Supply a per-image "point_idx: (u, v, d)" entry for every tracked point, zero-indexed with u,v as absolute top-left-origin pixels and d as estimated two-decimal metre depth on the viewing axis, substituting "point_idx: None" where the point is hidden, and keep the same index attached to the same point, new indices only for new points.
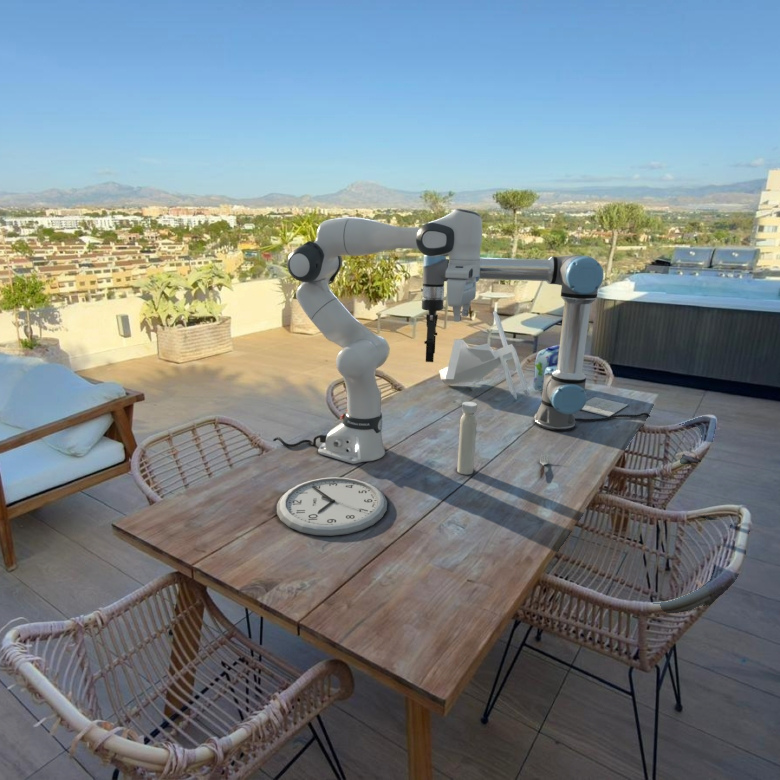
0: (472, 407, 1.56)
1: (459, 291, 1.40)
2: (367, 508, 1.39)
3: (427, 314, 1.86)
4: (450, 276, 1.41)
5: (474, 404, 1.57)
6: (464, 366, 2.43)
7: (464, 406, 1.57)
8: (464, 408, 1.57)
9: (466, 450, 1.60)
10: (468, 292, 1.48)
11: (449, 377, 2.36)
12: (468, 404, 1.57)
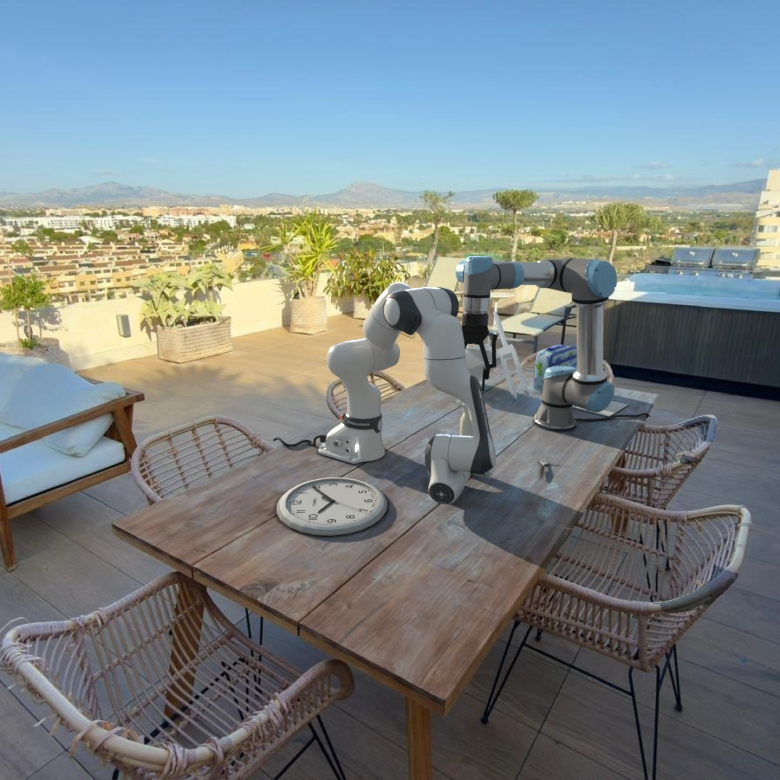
0: None
1: None
2: (367, 508, 1.39)
3: None
4: None
5: None
6: None
7: (464, 406, 1.57)
8: (464, 408, 1.57)
9: None
10: None
11: None
12: None
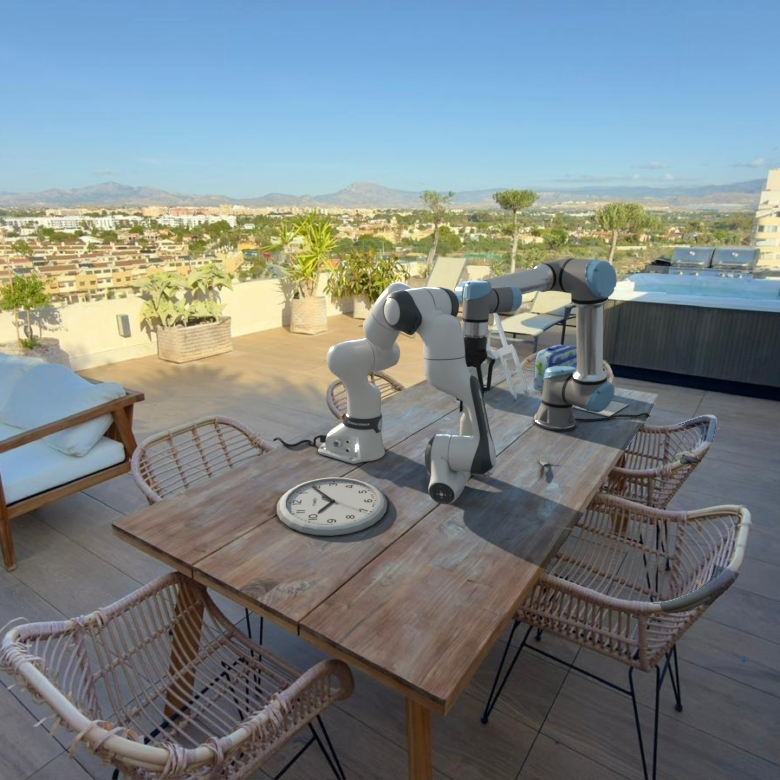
0: None
1: None
2: (367, 508, 1.39)
3: None
4: None
5: None
6: None
7: (464, 406, 1.57)
8: (464, 408, 1.57)
9: None
10: None
11: None
12: None
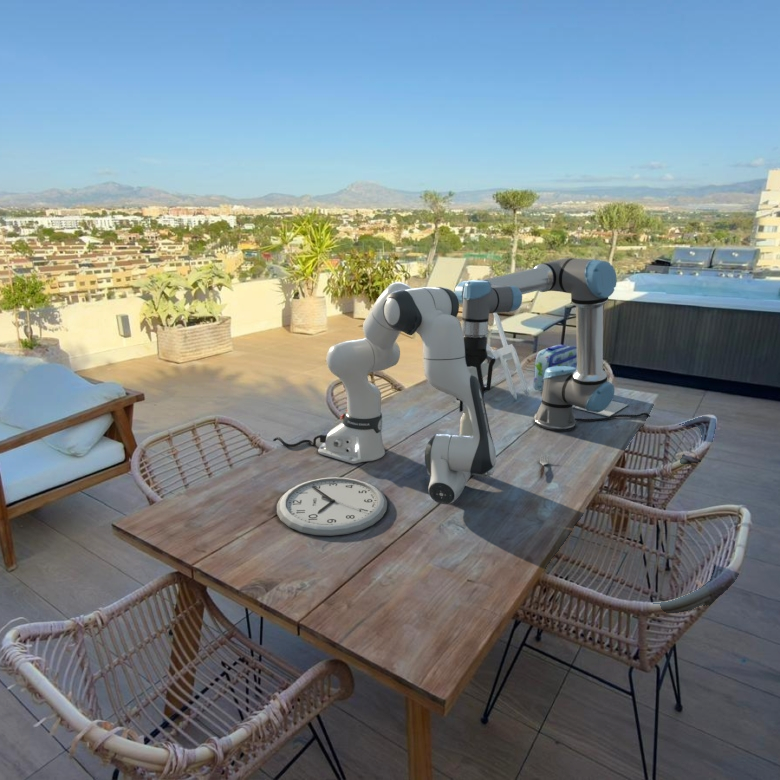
0: None
1: None
2: (367, 508, 1.39)
3: None
4: None
5: None
6: None
7: None
8: None
9: None
10: None
11: None
12: None
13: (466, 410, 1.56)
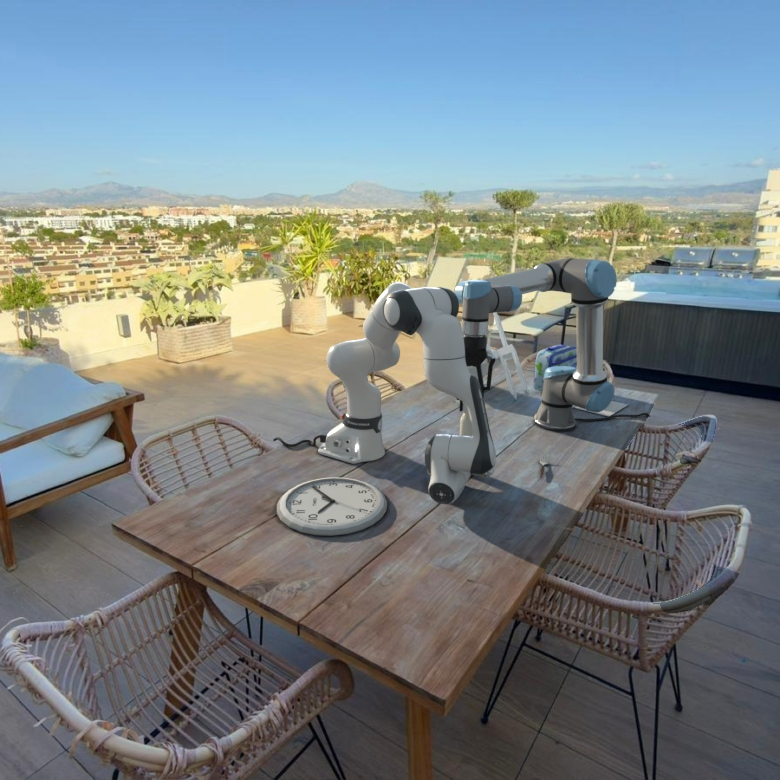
0: None
1: None
2: (367, 508, 1.39)
3: None
4: None
5: None
6: None
7: None
8: None
9: None
10: None
11: None
12: None
13: None
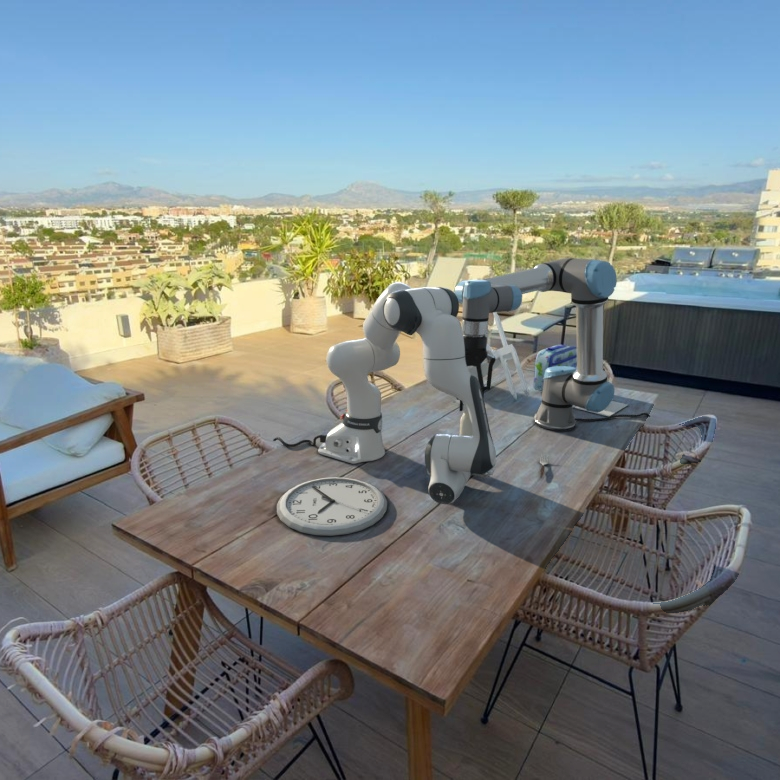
0: (465, 406, 1.56)
1: None
2: (367, 508, 1.39)
3: None
4: None
5: None
6: None
7: None
8: (462, 405, 1.59)
9: None
10: None
11: None
12: None
13: None
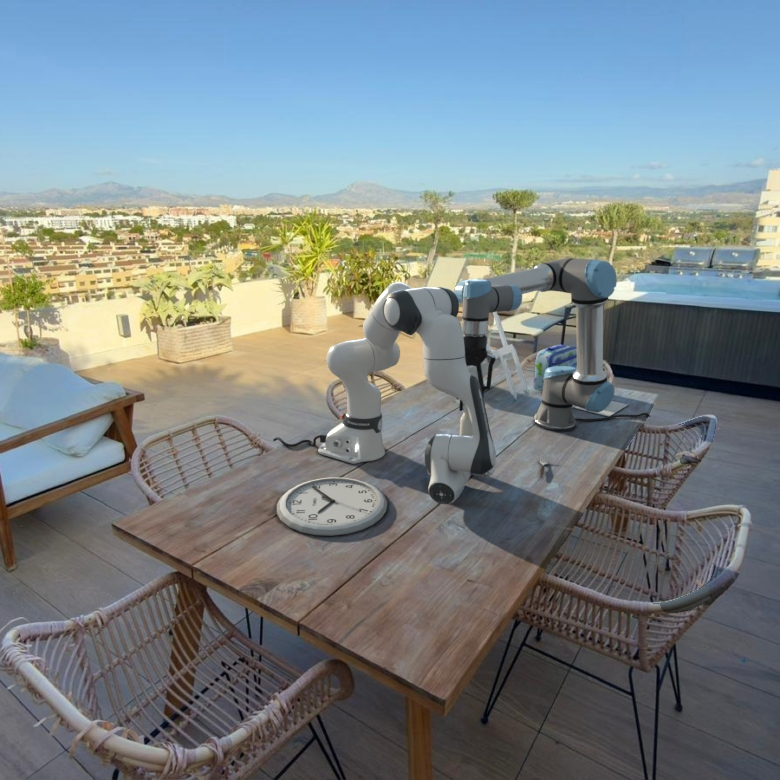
0: None
1: None
2: (367, 508, 1.39)
3: None
4: None
5: None
6: None
7: None
8: None
9: None
10: None
11: None
12: None
13: (462, 407, 1.58)
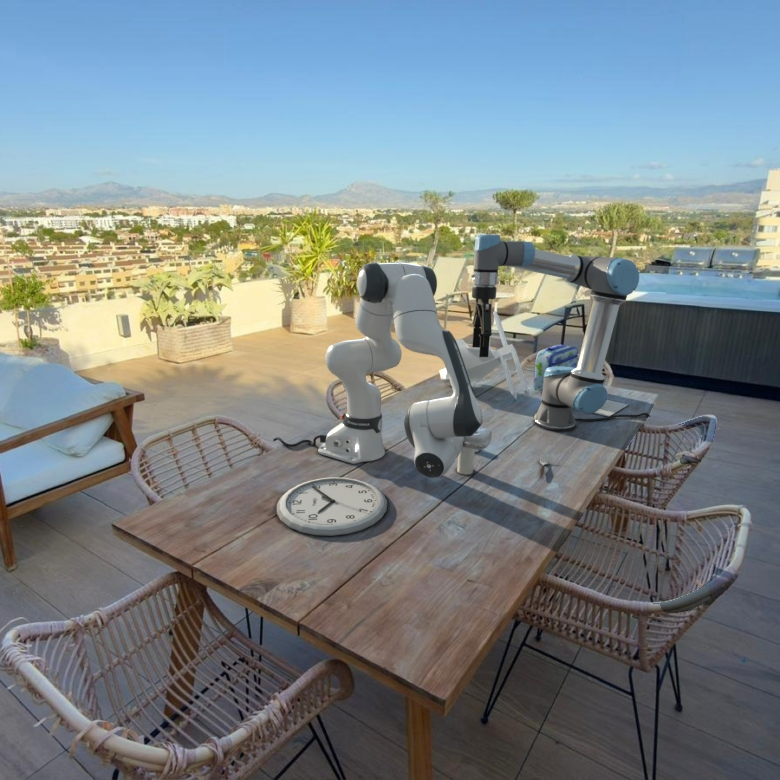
0: None
1: None
2: (367, 508, 1.39)
3: (477, 304, 1.66)
4: None
5: None
6: None
7: None
8: None
9: (466, 450, 1.60)
10: None
11: None
12: None
13: (475, 450, 1.78)
